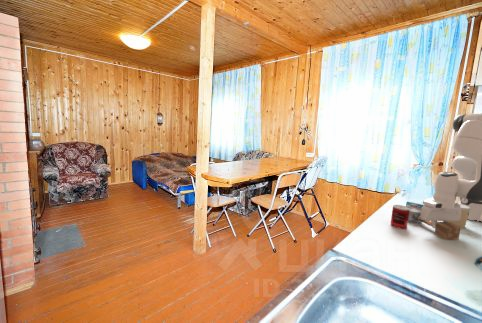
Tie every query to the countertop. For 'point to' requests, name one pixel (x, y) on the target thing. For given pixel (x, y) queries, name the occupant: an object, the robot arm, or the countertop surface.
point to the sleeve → (414, 216)
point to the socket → (447, 230)
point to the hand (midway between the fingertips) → (438, 228)
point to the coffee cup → (462, 216)
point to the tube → (425, 221)
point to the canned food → (400, 216)
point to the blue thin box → (414, 205)
